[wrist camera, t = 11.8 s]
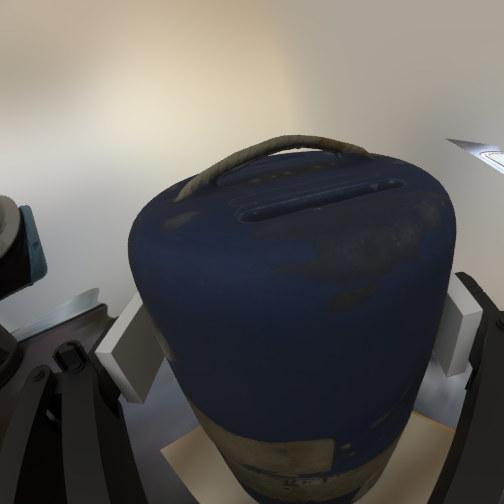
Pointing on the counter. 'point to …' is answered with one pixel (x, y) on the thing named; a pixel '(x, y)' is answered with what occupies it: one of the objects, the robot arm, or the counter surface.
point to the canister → (298, 308)
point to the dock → (375, 500)
